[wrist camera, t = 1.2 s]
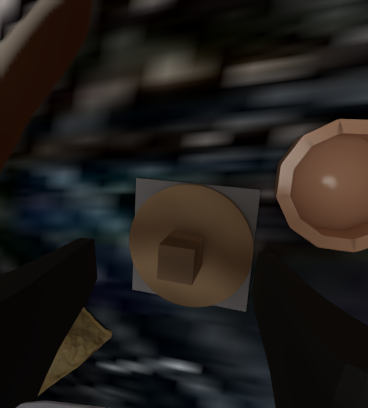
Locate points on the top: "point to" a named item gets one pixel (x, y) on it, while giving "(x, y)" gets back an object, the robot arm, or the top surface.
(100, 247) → the top surface
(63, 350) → the rock
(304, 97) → the top surface
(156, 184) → the mat
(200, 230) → the lid
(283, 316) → the robot arm
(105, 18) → the top surface
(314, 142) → the bowl
